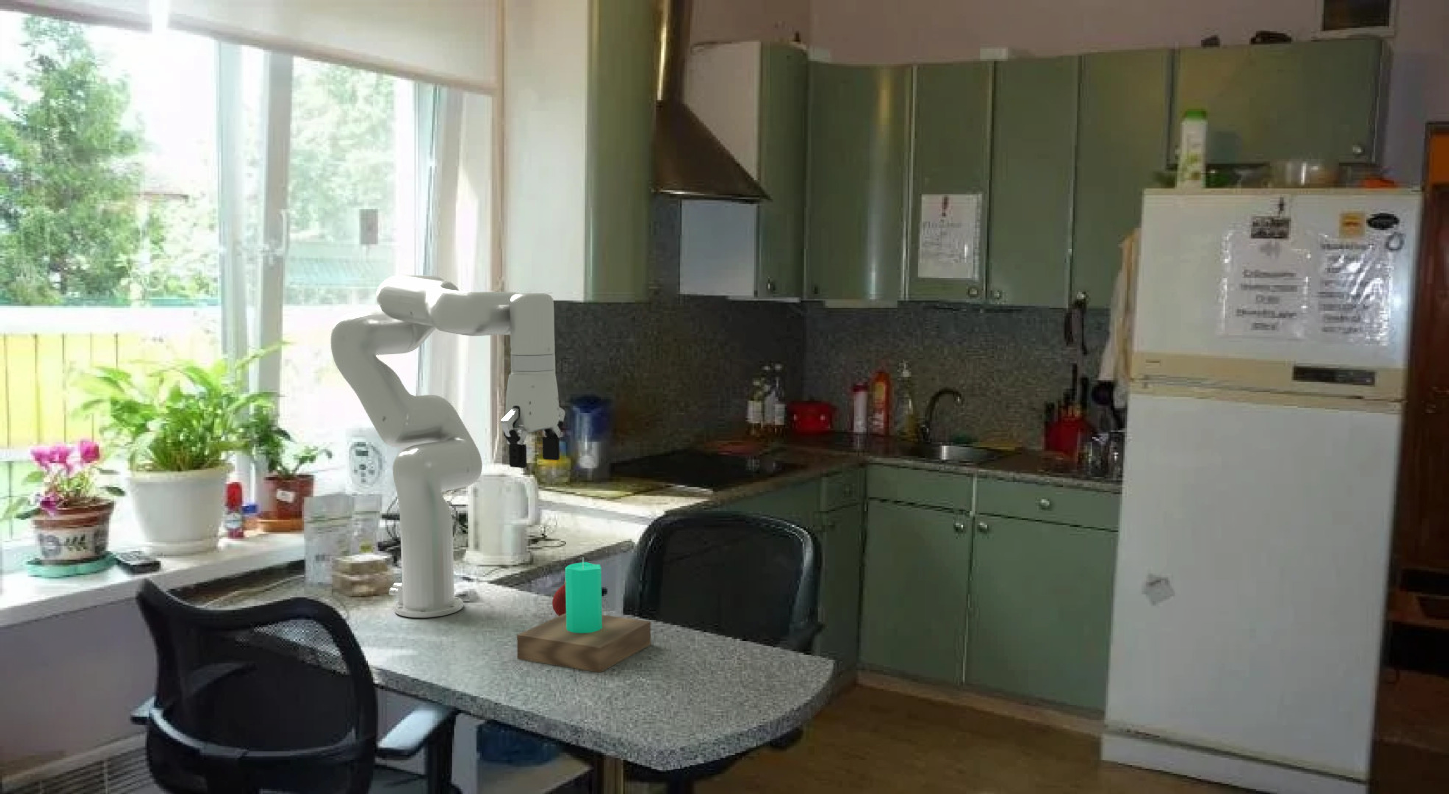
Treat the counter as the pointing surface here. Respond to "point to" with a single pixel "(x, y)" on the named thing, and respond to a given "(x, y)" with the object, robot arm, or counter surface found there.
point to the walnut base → (584, 643)
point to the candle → (583, 597)
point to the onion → (560, 600)
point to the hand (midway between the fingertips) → (535, 463)
